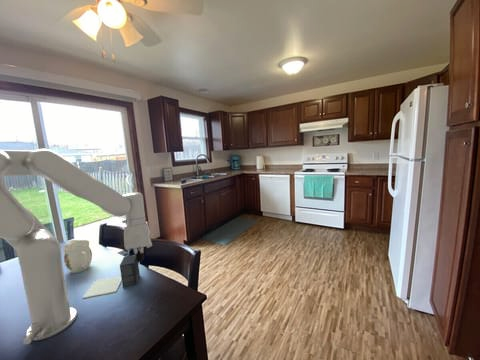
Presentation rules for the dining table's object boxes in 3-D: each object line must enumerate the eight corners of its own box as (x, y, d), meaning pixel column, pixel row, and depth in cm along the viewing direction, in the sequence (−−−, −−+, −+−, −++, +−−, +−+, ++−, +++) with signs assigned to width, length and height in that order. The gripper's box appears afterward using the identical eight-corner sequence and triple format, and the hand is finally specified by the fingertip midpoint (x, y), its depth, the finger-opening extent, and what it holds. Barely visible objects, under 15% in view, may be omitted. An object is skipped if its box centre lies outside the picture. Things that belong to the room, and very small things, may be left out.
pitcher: (75, 280, 94) (70, 252, 93) (61, 270, 104) (56, 244, 103) (101, 269, 103) (97, 243, 102) (86, 260, 113) (82, 236, 112)
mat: (116, 292, 85) (115, 291, 85) (82, 298, 82) (82, 297, 82) (124, 275, 96) (124, 275, 96) (95, 281, 93) (95, 280, 93)
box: (126, 278, 94) (123, 256, 93) (140, 275, 96) (137, 254, 95) (122, 288, 87) (119, 265, 86) (137, 285, 89) (134, 262, 87)
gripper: (113, 226, 84) (119, 268, 86) (153, 221, 87) (157, 261, 90) (119, 220, 91) (124, 259, 93) (155, 216, 95) (159, 254, 97)
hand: (140, 260), depth 92 cm, fingers closed
